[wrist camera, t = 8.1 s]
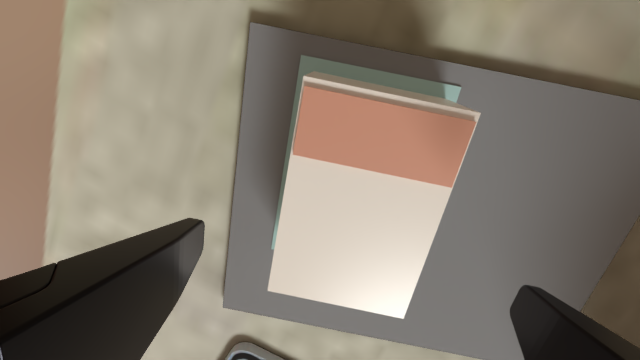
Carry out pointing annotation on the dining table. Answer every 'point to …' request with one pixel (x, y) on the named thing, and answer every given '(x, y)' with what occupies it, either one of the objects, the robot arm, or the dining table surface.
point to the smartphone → (250, 353)
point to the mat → (465, 199)
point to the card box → (365, 191)
